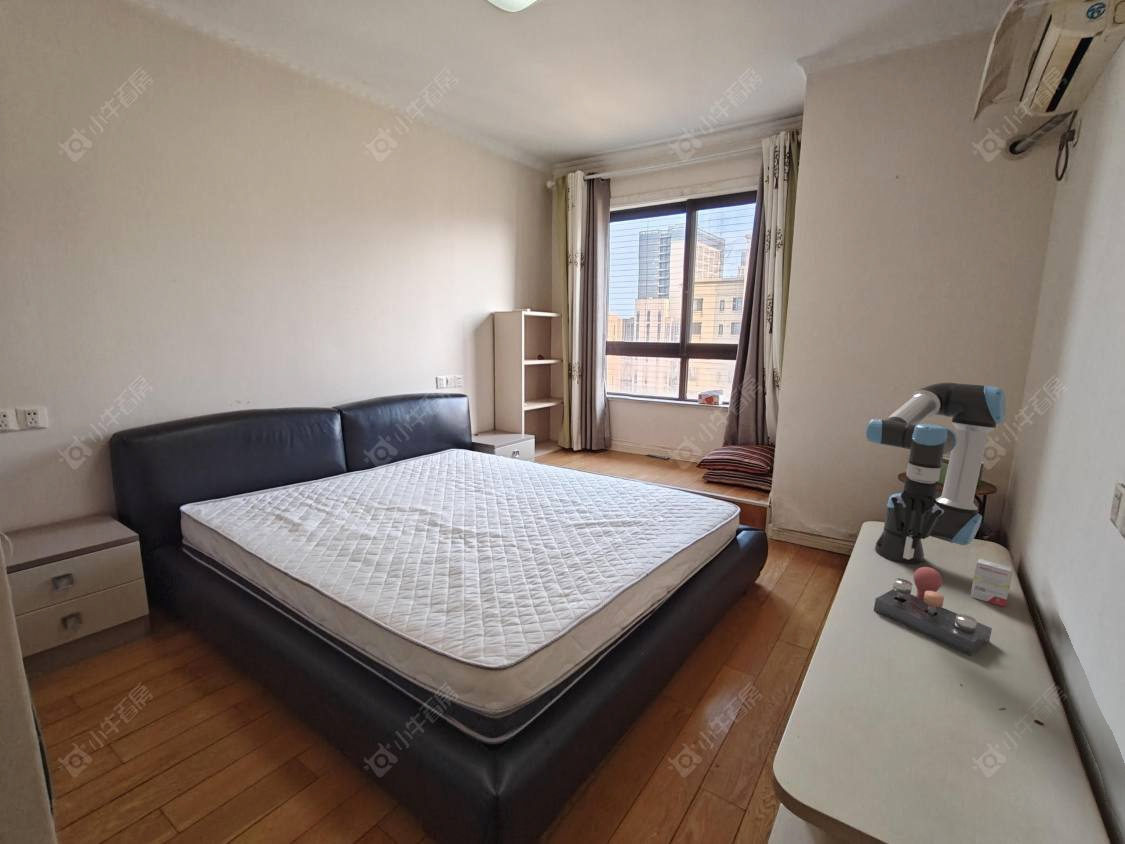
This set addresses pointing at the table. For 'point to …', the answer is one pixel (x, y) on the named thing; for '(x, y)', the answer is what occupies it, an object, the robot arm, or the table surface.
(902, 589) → the knob
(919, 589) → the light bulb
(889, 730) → the table surface
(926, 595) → the knob
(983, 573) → the ink box
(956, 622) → the knob
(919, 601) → the mount plate
